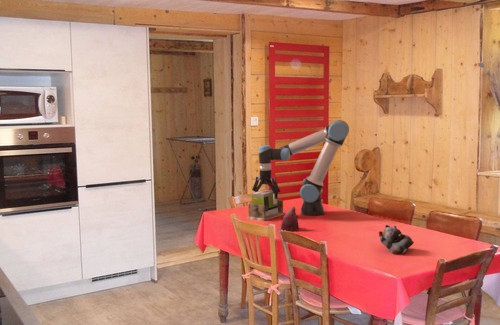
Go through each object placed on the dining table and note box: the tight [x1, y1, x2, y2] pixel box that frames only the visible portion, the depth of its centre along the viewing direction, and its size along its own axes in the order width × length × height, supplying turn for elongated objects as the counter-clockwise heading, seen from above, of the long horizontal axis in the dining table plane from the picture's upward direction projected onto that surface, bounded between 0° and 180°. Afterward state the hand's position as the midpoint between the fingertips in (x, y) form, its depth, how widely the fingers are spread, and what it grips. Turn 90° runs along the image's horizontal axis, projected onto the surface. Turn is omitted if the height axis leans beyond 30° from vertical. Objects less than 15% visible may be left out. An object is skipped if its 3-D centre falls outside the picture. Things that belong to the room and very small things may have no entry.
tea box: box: [251, 189, 279, 216], centre depth 349 cm, size 15×10×15 cm, turn 142°
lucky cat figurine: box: [378, 224, 415, 255], centre depth 266 cm, size 15×12×14 cm
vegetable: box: [280, 206, 300, 232], centre depth 315 cm, size 10×10×15 cm
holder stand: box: [248, 199, 284, 222], centre depth 349 cm, size 12×23×10 cm, turn 143°
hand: (266, 202), depth 349 cm, fingers open, 13 cm apart
